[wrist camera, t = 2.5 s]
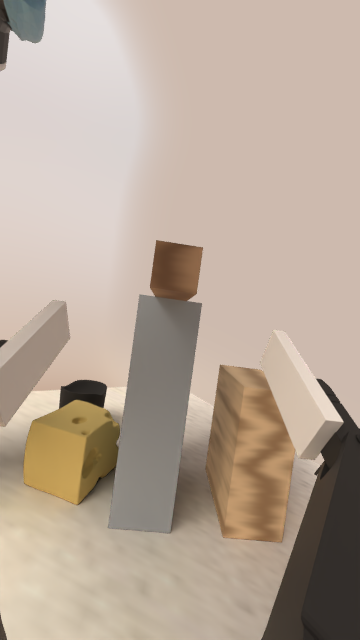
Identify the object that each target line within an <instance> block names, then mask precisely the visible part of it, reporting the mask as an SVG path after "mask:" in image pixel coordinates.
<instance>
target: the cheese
mask: <svg viewBox="0 0 360 640" xmlns="http://www.w3.org/2000/svg"><path fill="white" fill-rule="evenodd" d="M119 435H120V427H119V424H118V423H116V422H115V421H114V420H113V419H112V416H111V414H110V413H109V411H108V410H106V409H103V408H101V407H98V406H95V405H93V404H90V403H88V402H84V401H80V400H74V401H73V402H71V403H69V404H67V405H66V406H64V407H62V408H60V409H58V410H56V411H54V412H52V413H49V414H47V415H45V416H43V417H40V418H38V419H35V420H33V421H32V424H31V427H30V430H29V434H28V437H27V442H26V448H25V456H24V467H23V472H24V484H26V485H28V486H31V487H33V488H35V489H38V490H41V491H44V492H46V493H49V494H52V495H55V496H57V497H59V498H62V499H64V500H66V501H69V502H71V503H73V504H76V505H78V504H79V503H80V502H81V501H82V500H83V499H84V498H85V496H86V495H87V494H88V493H89V492H90V491H91V490H92V489H93V488H94V486H95V484H96V482H97V480H98V478H99V477H105V476H106V475H107V474H108V473H109V472H110V471H111V470H112V469H113V468H114V467H115V466H116V464H117V458H118V450H119V448H118V447H117V445H116V442H117V440H118V438H119Z"/></svg>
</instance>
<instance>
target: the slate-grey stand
mask: <svg viewBox="0 0 360 640" xmlns="http://www.w3.org/2000/svg"><path fill="white" fill-rule="evenodd" d="M201 307H202V303H196V302H189V301H182V300H175V299H168V298H161V297H153V296H146V295H140V296H139V303H138V310H137V318H136V325H135V332H134V340H133V347H132V354H131V362H130V370H129V377H128V384H127V391H126V399H125V406H124V414H123V421H122V428H121V436H120V443H119V450H118V458H117V465H116V473H115V480H114V487H113V495H112V502H111V510H110V517H109V524H108V528H114V529H126V530H138V531H150V532H162V533H170V531H171V524H172V517H173V510H174V502H175V495H176V488H177V481H178V473H179V466H180V459H181V452H182V444H183V437H184V430H185V423H186V415H187V408H188V401H189V394H190V386H191V379H192V372H193V364H194V357H195V349H196V343H197V336H198V328H199V321H200V313H201Z"/></svg>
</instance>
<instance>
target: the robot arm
mask: <svg viewBox="0 0 360 640" xmlns="http://www.w3.org/2000/svg"><path fill="white" fill-rule="evenodd" d="M45 6H46V0H0V71H2V70H4V69H5V67H6V59H7V50H8V41H9V32H10V30H11V31H14V32H15V34H16V35H17V36H18V37H19V38H20V39H21V40H22V41H24V40H27V41H30V42H32V43H38V42H40V40H41V39H42V36H43V31H44V21H45ZM69 339H70V333H69V325H68V316H67V307H66V302H64V301H57V300H53V301H52V302H50V303H49V304H48V305H47V306H46V307H45V308H44V309H43V310H42V311H40V312H39V313H38V314H37V315H36V316H35V317H34V318H33V319H32V320H30V321H29V322H28V323H27V324H26V325H25V326H24V327H23V328H22V329H21V330H19V331H18V332H17V333H16V334H15V335H14V336H13V337H12V338H11V339H9V340H0V426H2V427H5V426H6V425H7V423H8V422H9V421H10V419H11V418H12V417H13V415H14V414H15V413H16V411H17V410H18V409H19V407H20V406H21V404H22V403H23V402H24V400H25V399H26V398H27V396H28V395H29V394H30V392H31V391H32V389H33V388H34V387H35V385H36V384H37V383H38V381H39V380H40V378H41V377H42V376H43V374H44V373H45V372H46V370H47V369H48V368H49V366H50V365H51V364H52V362H53V361H54V359H55V358H56V357H57V355H58V354H59V353H60V351H61V350H62V348H63V347H64V346H65V344H66V343H67V342H68V340H69ZM260 364H261V366H262V369H263V371H264V374H265V376H266V379H267V381H268V384H269V386H270V389H271V391H272V394H273V396H274V399H275V401H276V404H277V406H278V409H279V411H280V413H281V416H282V418H283V421H284V423H285V426H286V428H287V431H288V433H289V436H290V438H291V441H292V443H293V446H294V448H295V451H296V453H297V456H298V458H300V459H310V460H315V458H316V457H317V456H318V455H319V454H320V452H321V454H322V456H323V458H324V460H325V461H324V462H323V463H322V465H321V466H320V467H319V468H318V469H317V471H316V472H315V473H314V474H315V475H316V476H317V475H318V476H317V479H316V482H315V485H314V488H313V491H312V494H311V497H310V500H309V503H308V506H307V509H306V512H305V515H304V517H303V520H302V523H301V526H300V529H299V532H298V535H297V538H296V541H295V544H294V547H293V550H292V553H291V556H290V559H289V562H288V565H287V568H286V571H285V574H284V577H283V579H282V582H281V585H280V588H279V591H278V594H277V597H276V600H275V603H274V606H273V609H272V612H271V615H270V618H269V621H268V624H267V627H266V630H265V632H264V635H263V637H262V639H261V640H360V429H359V428H358V427H357V425H356V424H355V423H354V421H353V420H352V418H351V417H350V415H349V414H348V412H347V411H346V409H345V408H344V407H343V405H342V404H340V401H339V399H338V398H337V397H336V395H335V394H334V392H333V391H332V389H331V388H330V387H329V386H328V385H327V384H326V383H325V382H324V381H323V380H321V379H316V378H315V377H314V375H313V374H312V372H311V371H310V369H309V368H308V366H307V365H306V363H305V362H304V360H303V359H302V357H301V355H300V354H299V352H298V351H297V349H296V348H295V346H294V345H293V343H292V342H291V340H290V339H289V337H288V335H287V334H286V332H285V331H278V330H273V332H272V335H271V337H270V340H269V342H268V344H267V347H266V349H265V352H264V354H263V356H262V359H261V361H260ZM0 640H7V638H6V634H5V631H4V627H3V624H2V620H1V615H0Z"/></svg>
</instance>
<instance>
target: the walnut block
mask: <svg viewBox="0 0 360 640" xmlns="http://www.w3.org/2000/svg"><path fill="white" fill-rule="evenodd" d="M202 250H203V247H196V246H189V245H183V244H177V243H171V242H164V241H158V240H156V247H155V254H154V262H153V269H152V277H151V283H150V288H151V290H152V292H153V293H154V295H155V297H161V298H168V299H175V300H182V301H187V300H189V299H190V298H192V297H193V296H194V295H196V294H197V287H198V280H199V273H200V265H201V258H202Z"/></svg>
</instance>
